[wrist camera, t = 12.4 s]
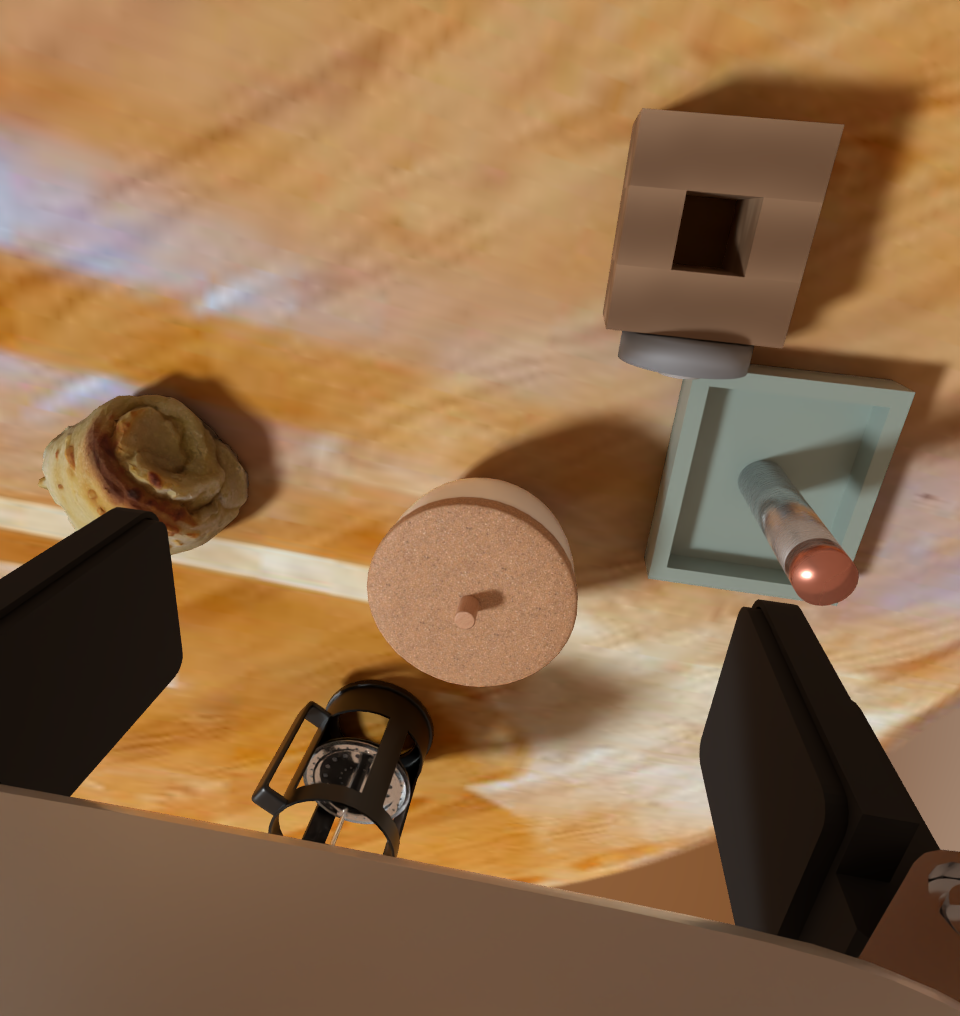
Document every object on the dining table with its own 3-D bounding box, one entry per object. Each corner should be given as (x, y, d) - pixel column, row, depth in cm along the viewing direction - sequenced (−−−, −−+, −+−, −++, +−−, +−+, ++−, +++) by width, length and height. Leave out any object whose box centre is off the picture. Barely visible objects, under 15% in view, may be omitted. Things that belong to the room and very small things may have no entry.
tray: (687, 356, 40) (695, 367, 38) (892, 380, 39) (915, 392, 37) (644, 557, 46) (648, 578, 44) (821, 582, 45) (836, 605, 42)
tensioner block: (633, 124, 36) (645, 103, 29) (803, 138, 35) (857, 120, 28) (596, 351, 41) (600, 378, 34) (745, 368, 40) (778, 399, 33)
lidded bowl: (614, 550, 46) (624, 642, 36) (480, 638, 51) (456, 741, 41) (498, 414, 44) (474, 473, 34) (367, 519, 48) (312, 599, 38)
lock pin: (743, 457, 41) (802, 548, 30) (789, 462, 41) (866, 557, 30) (733, 498, 43) (786, 600, 31) (777, 503, 42) (847, 609, 31)
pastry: (271, 437, 47) (214, 478, 40) (225, 571, 52) (167, 629, 45) (86, 346, 46) (-7, 370, 39) (58, 491, 51) (-29, 537, 44)
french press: (462, 730, 55) (390, 1045, 34) (397, 788, 59) (296, 1103, 38) (349, 647, 53) (199, 927, 32) (289, 712, 57) (121, 1000, 36)
